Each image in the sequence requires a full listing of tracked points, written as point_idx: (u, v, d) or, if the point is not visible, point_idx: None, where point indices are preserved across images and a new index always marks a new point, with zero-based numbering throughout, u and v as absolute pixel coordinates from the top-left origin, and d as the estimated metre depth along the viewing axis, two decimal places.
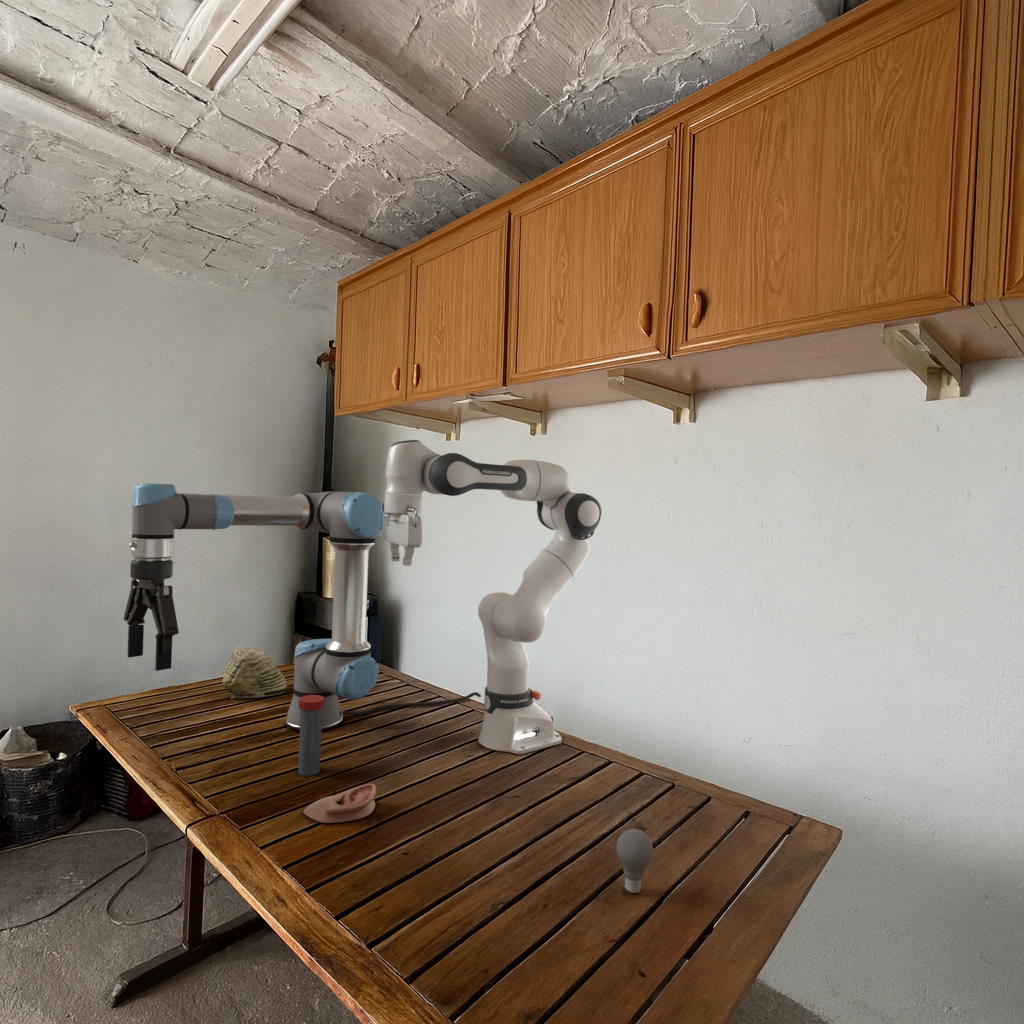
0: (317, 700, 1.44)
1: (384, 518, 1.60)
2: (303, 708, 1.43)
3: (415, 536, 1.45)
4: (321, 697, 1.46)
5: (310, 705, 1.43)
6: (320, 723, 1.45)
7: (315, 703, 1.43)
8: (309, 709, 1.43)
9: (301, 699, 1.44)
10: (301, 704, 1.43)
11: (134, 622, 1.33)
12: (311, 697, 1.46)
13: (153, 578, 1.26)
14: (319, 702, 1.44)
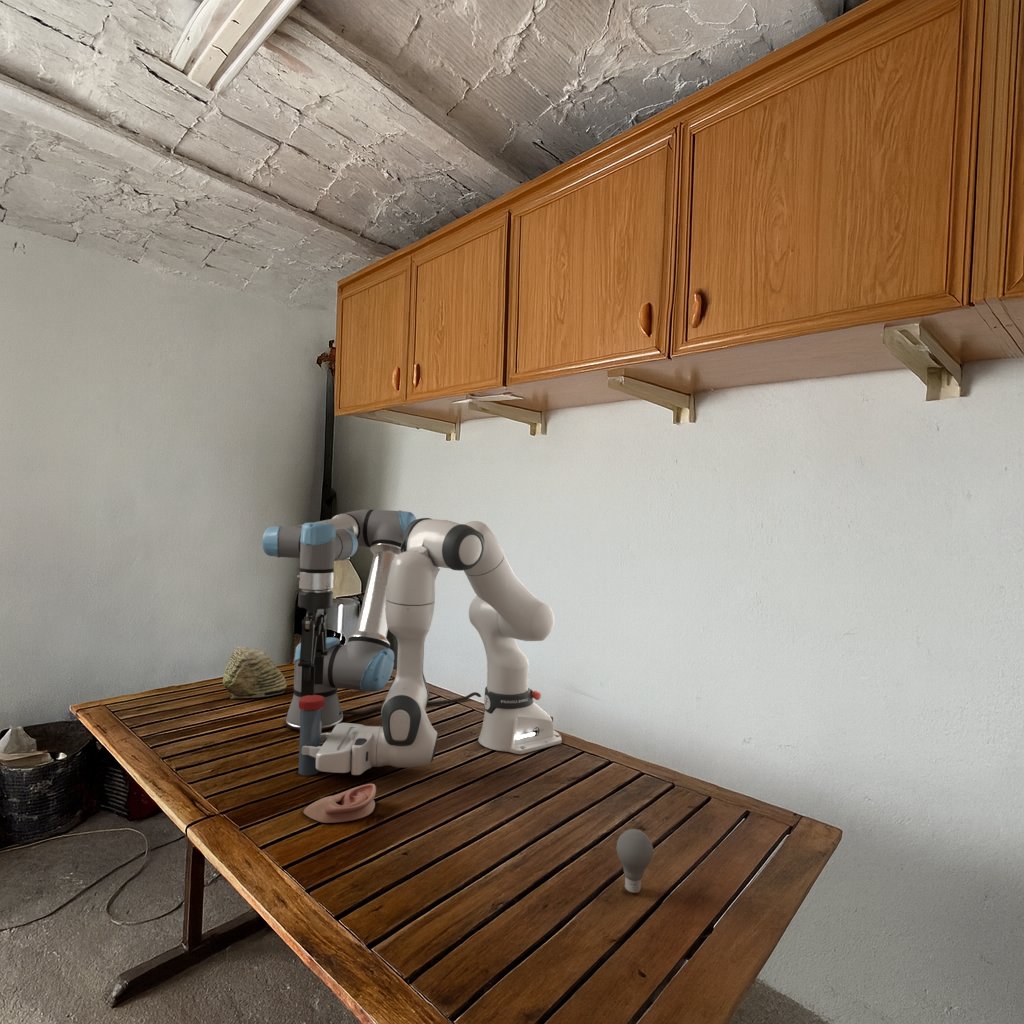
0: (317, 700, 1.44)
1: None
2: (303, 708, 1.43)
3: None
4: (321, 697, 1.46)
5: (310, 705, 1.43)
6: (320, 723, 1.45)
7: (315, 703, 1.43)
8: (309, 709, 1.43)
9: (301, 699, 1.44)
10: (301, 704, 1.43)
11: (317, 652, 1.50)
12: (311, 697, 1.46)
13: (306, 608, 1.41)
14: (319, 702, 1.44)
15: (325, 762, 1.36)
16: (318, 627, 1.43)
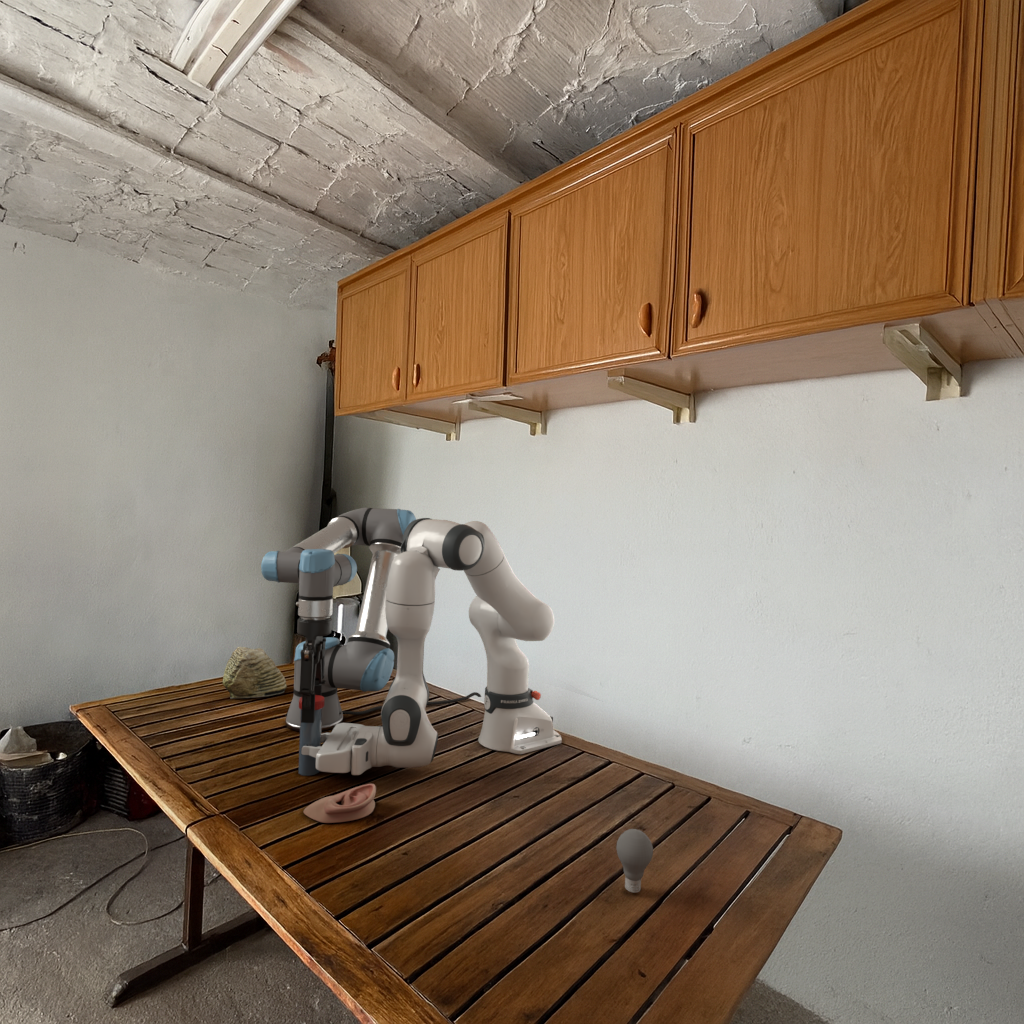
0: (317, 700, 1.44)
1: None
2: None
3: None
4: (321, 697, 1.46)
5: None
6: (320, 723, 1.45)
7: (315, 703, 1.43)
8: None
9: (301, 699, 1.44)
10: (301, 704, 1.43)
11: (315, 681, 1.49)
12: None
13: (305, 635, 1.41)
14: (319, 702, 1.44)
15: (325, 762, 1.36)
16: (317, 655, 1.43)
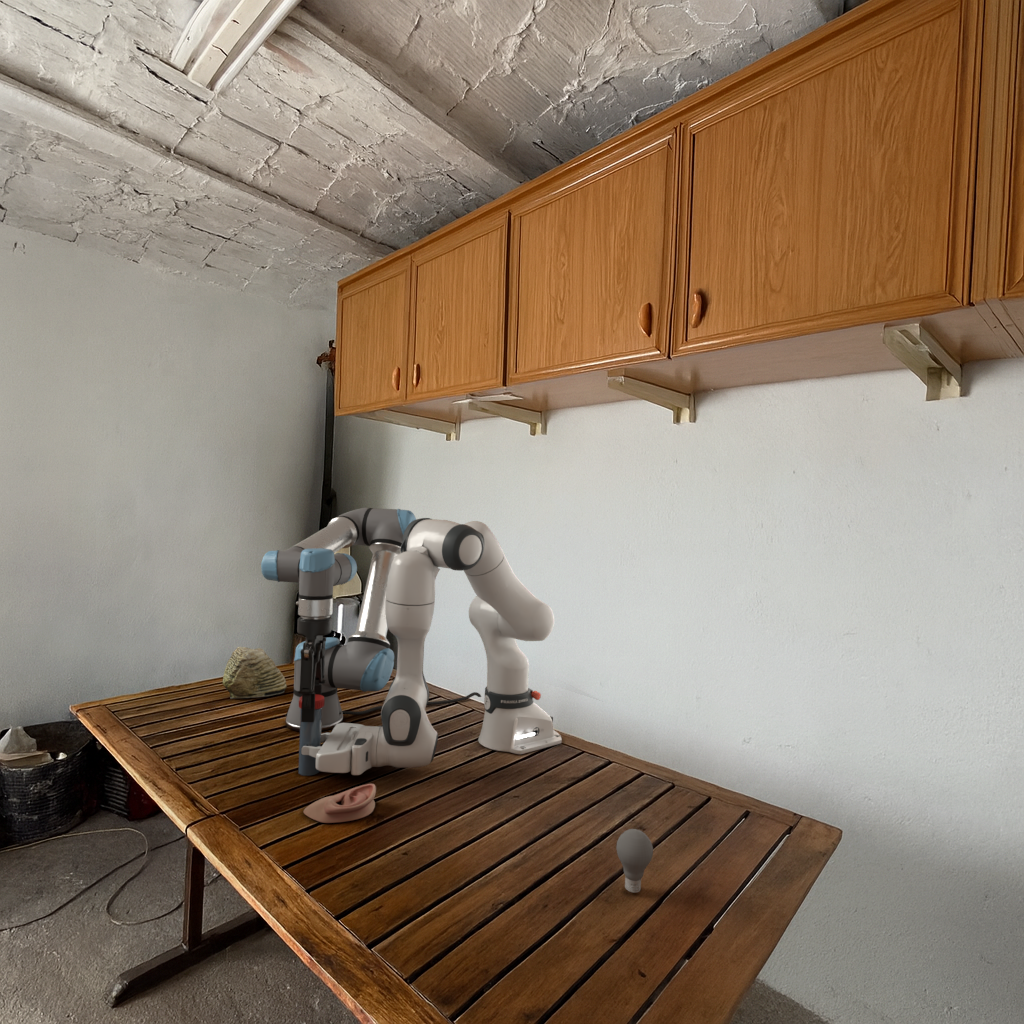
0: (319, 695, 1.47)
1: None
2: (321, 706, 1.44)
3: None
4: None
5: (324, 700, 1.46)
6: (320, 723, 1.45)
7: None
8: (323, 705, 1.46)
9: None
10: (319, 703, 1.44)
11: (315, 680, 1.49)
12: None
13: (305, 634, 1.41)
14: None
15: (325, 762, 1.36)
16: (317, 654, 1.43)
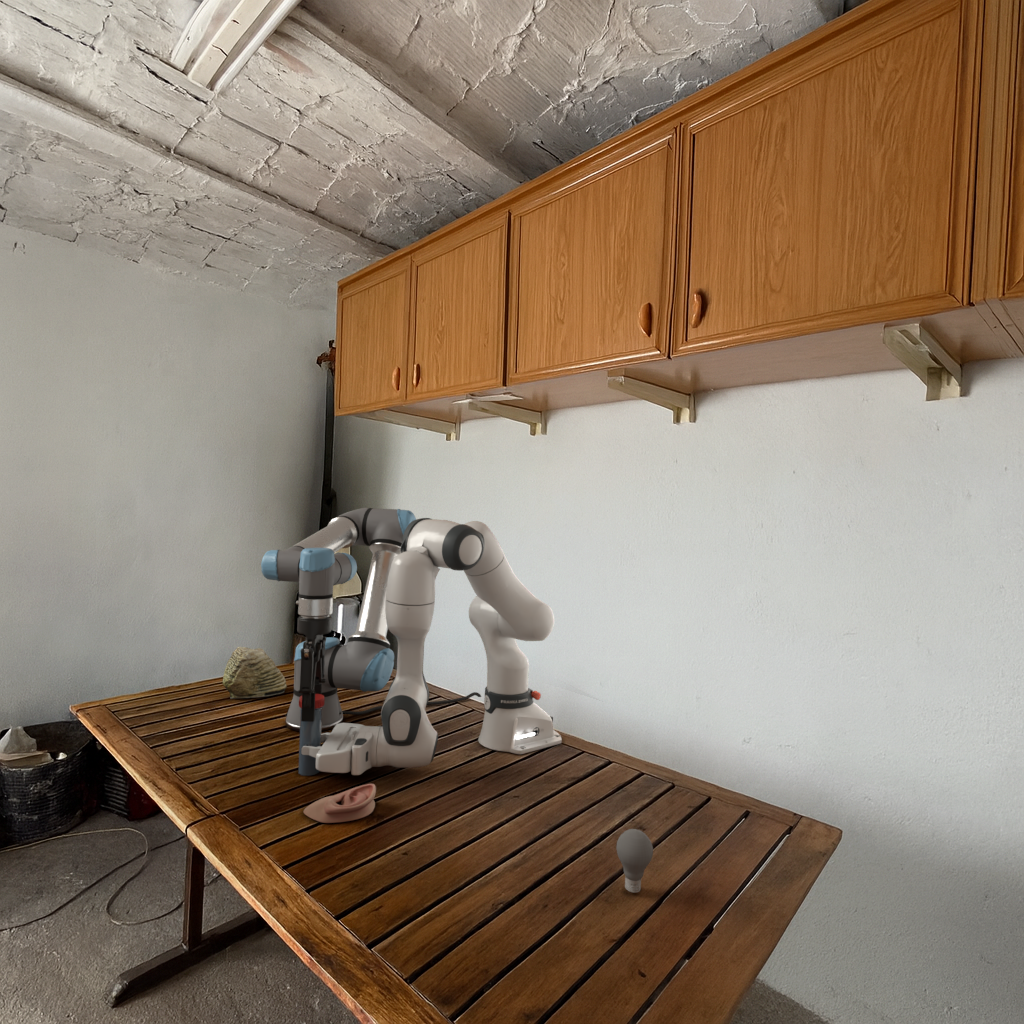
0: None
1: None
2: None
3: None
4: None
5: None
6: (320, 723, 1.45)
7: None
8: None
9: (322, 696, 1.46)
10: None
11: (315, 680, 1.49)
12: None
13: (305, 634, 1.41)
14: None
15: (325, 762, 1.36)
16: (317, 653, 1.43)
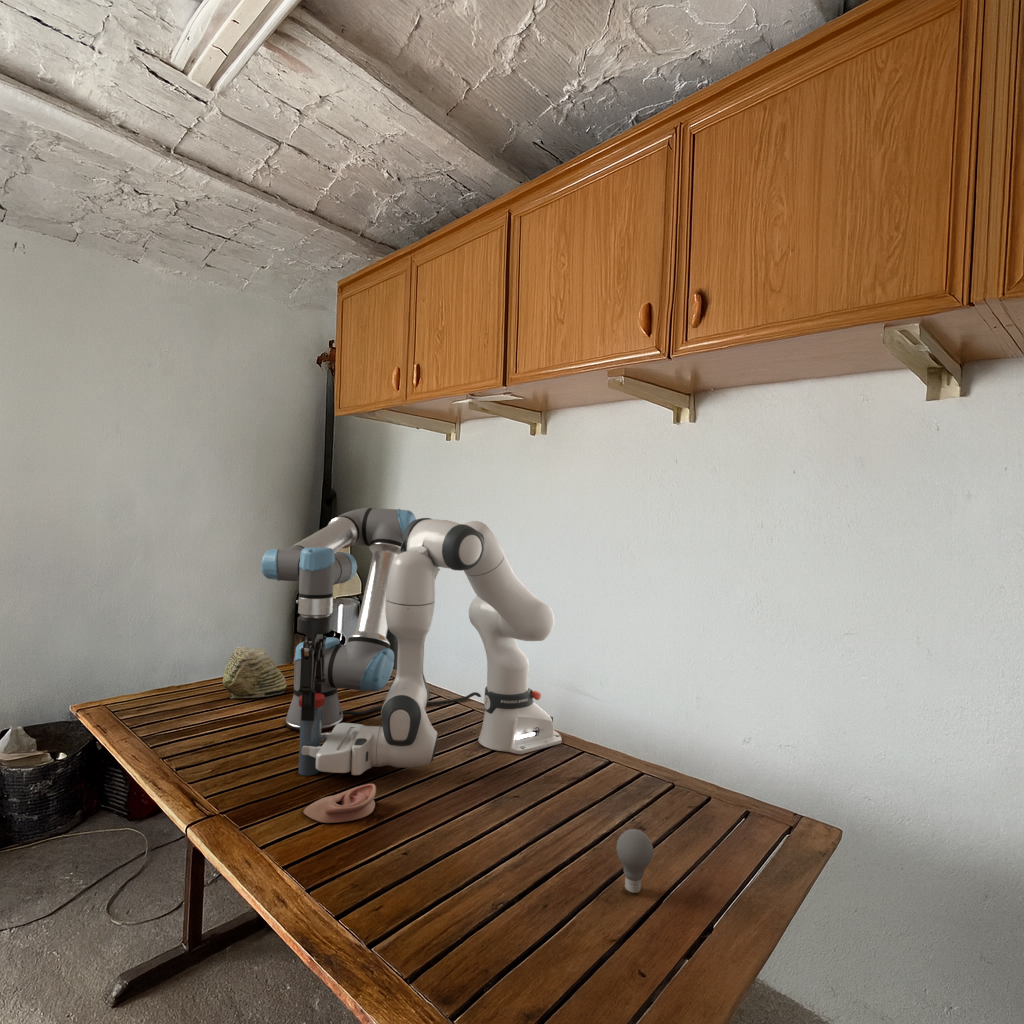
0: None
1: None
2: None
3: None
4: None
5: None
6: (320, 723, 1.45)
7: (300, 699, 1.44)
8: None
9: None
10: None
11: (315, 679, 1.49)
12: (315, 696, 1.46)
13: (305, 633, 1.41)
14: (301, 700, 1.43)
15: (325, 762, 1.36)
16: (317, 653, 1.43)
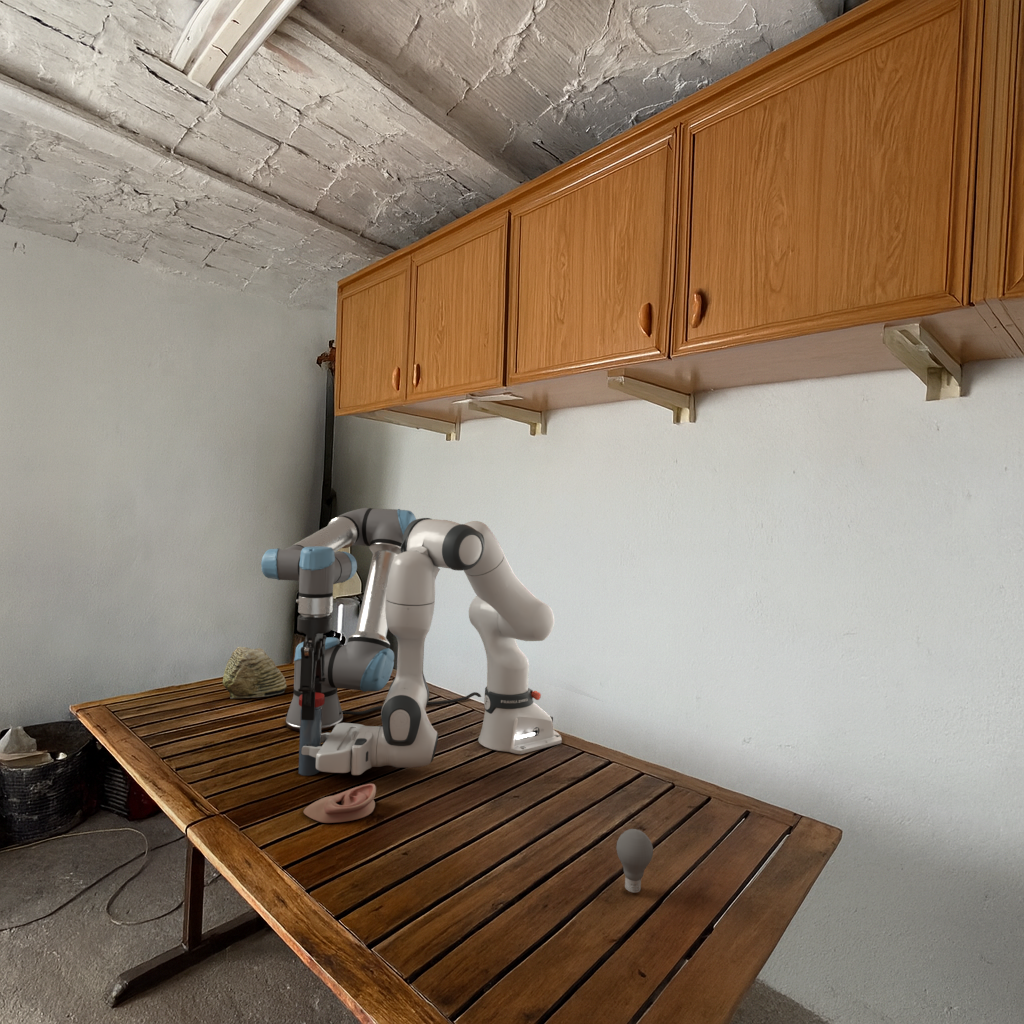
0: (316, 698, 1.44)
1: None
2: None
3: None
4: (321, 695, 1.46)
5: None
6: (320, 723, 1.45)
7: None
8: None
9: (301, 696, 1.45)
10: (301, 701, 1.43)
11: (315, 678, 1.49)
12: None
13: (305, 632, 1.41)
14: (318, 699, 1.44)
15: (325, 762, 1.36)
16: (317, 652, 1.43)
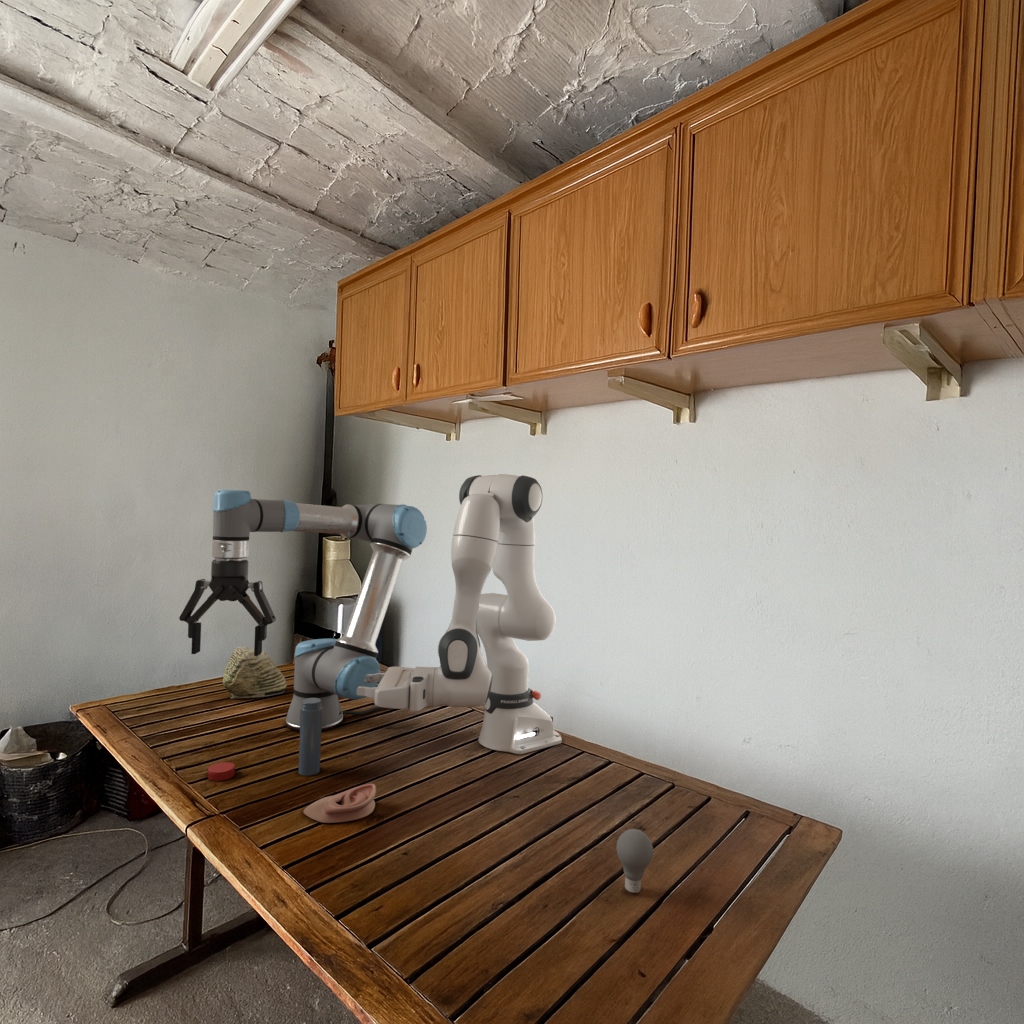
0: (230, 764, 1.43)
1: None
2: (229, 776, 1.40)
3: None
4: (221, 763, 1.44)
5: (234, 770, 1.42)
6: (320, 723, 1.45)
7: None
8: (233, 775, 1.42)
9: (220, 771, 1.39)
10: (227, 774, 1.40)
11: (194, 621, 1.41)
12: (217, 767, 1.41)
13: (244, 575, 1.40)
14: None
15: (384, 697, 1.36)
16: (245, 592, 1.43)
